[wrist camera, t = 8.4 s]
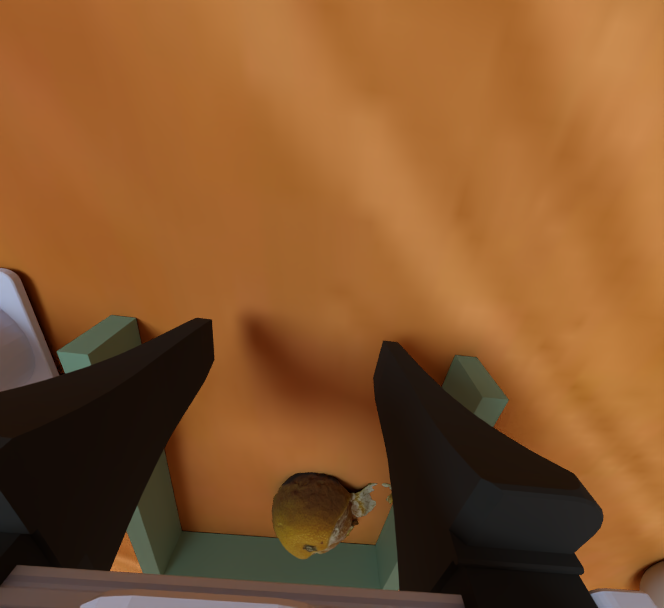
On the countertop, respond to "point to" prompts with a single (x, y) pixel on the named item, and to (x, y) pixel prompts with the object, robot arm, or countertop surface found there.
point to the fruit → (317, 512)
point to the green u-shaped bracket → (249, 551)
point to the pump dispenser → (654, 583)
